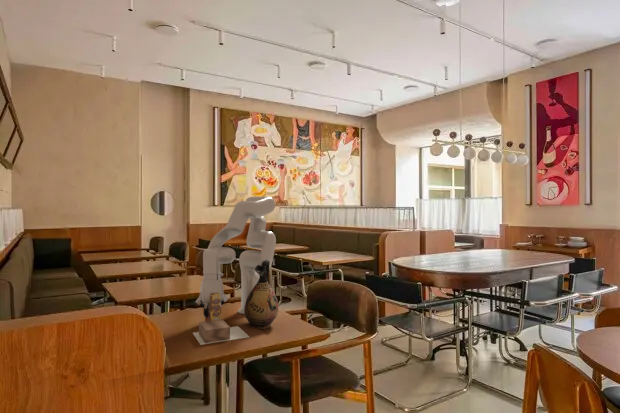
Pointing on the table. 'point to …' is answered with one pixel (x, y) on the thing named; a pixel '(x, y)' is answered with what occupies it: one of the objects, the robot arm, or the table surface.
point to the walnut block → (214, 330)
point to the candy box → (213, 307)
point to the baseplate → (234, 334)
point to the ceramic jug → (261, 300)
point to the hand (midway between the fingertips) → (212, 315)
